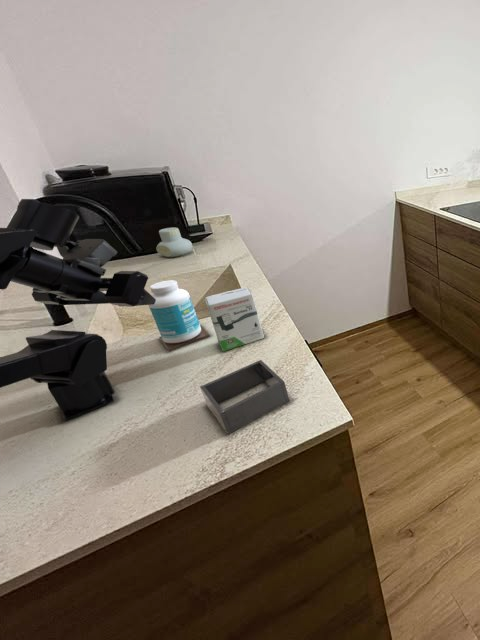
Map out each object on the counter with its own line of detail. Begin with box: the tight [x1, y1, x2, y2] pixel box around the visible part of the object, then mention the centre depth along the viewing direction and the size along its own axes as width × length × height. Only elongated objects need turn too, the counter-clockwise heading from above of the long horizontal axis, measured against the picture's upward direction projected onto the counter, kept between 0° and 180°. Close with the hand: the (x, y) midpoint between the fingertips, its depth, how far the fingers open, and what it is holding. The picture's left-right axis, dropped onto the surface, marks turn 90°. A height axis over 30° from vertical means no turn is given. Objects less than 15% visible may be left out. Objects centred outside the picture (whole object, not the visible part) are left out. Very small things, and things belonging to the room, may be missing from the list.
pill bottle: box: [148, 279, 201, 343], centre depth 86 cm, size 8×7×14 cm
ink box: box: [204, 287, 265, 352], centre depth 85 cm, size 9×5×12 cm, turn 132°
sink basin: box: [199, 359, 290, 435], centre depth 67 cm, size 10×10×4 cm
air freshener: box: [155, 227, 193, 258], centre depth 141 cm, size 11×8×10 cm
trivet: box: [159, 324, 211, 352], centre depth 89 cm, size 8×8×1 cm
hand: (133, 301), depth 76 cm, fingers open, 9 cm apart
